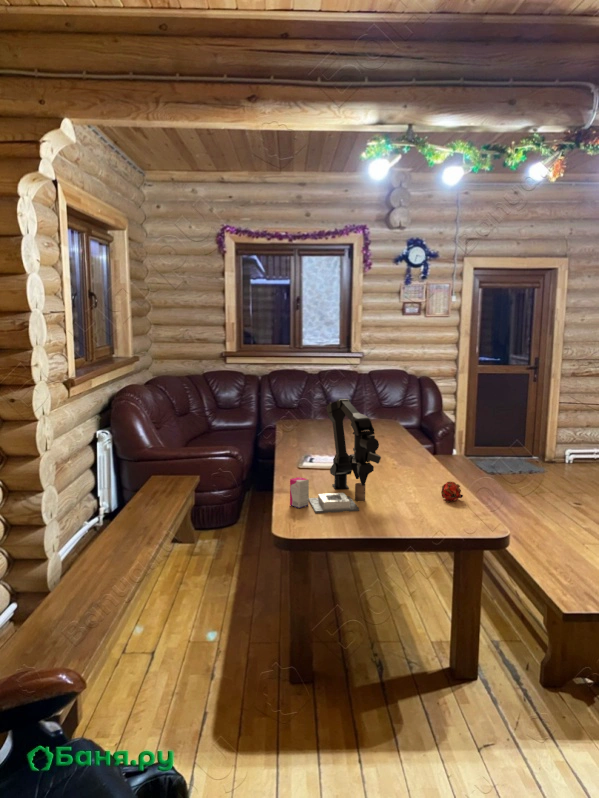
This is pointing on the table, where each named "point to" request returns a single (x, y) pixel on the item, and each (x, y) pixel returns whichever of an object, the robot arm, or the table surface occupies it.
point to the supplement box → (299, 492)
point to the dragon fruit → (451, 491)
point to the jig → (333, 503)
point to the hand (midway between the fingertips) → (360, 482)
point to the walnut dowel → (359, 492)
